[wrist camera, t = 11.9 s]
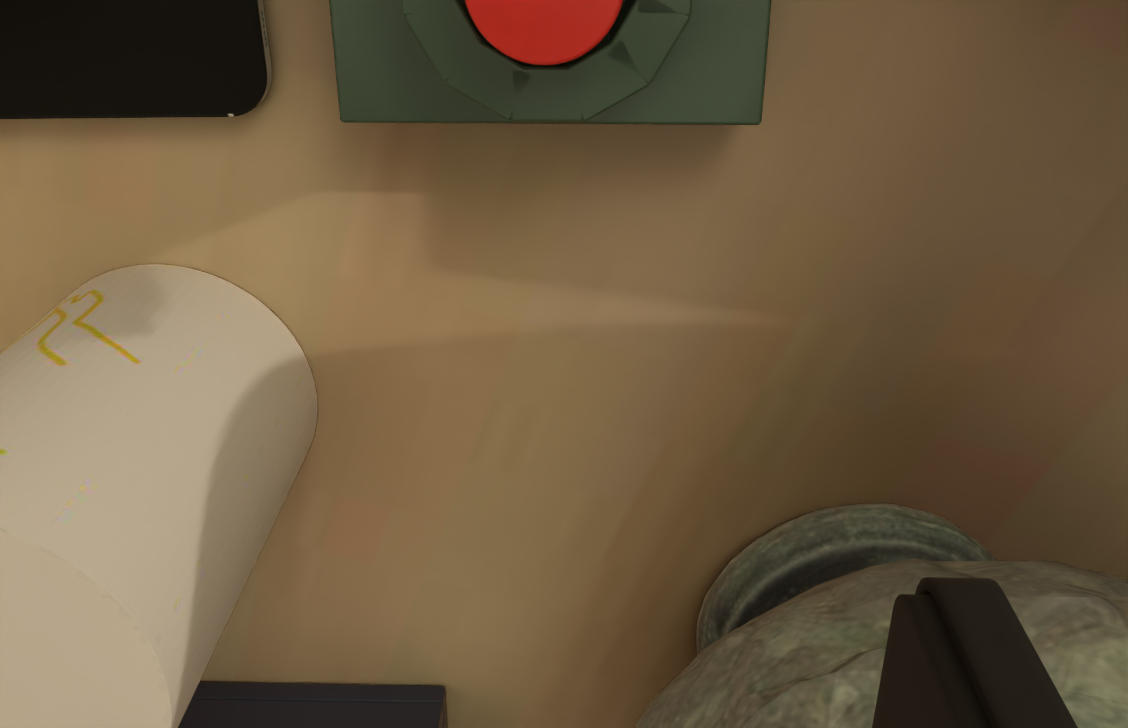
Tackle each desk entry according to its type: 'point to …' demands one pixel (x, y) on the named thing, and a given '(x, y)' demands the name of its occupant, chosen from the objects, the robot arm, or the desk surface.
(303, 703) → the dark blue open box
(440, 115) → the switch box
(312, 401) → the cup
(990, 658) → the robot arm
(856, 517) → the bowl
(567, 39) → the button
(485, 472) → the desk surface
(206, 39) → the smartphone
